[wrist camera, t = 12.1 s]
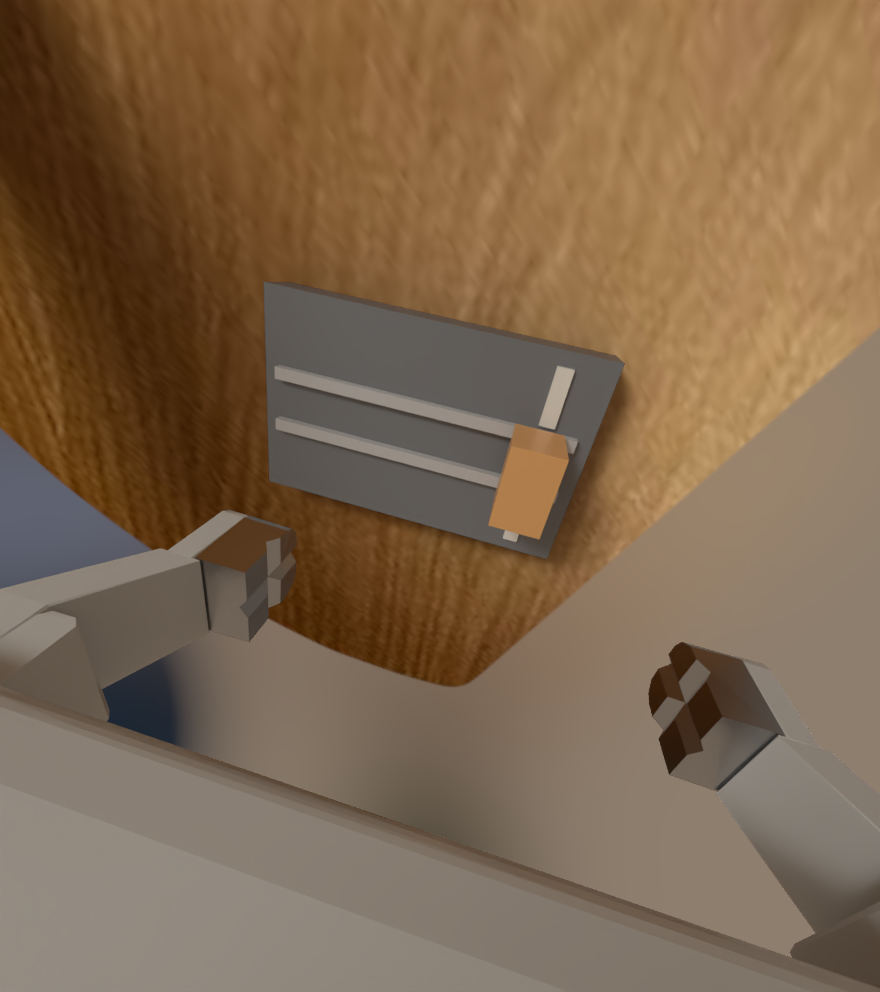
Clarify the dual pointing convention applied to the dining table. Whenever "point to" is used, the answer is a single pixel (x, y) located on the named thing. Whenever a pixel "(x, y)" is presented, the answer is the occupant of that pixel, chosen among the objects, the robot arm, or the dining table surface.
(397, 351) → the fader console
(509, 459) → the fader tab
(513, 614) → the dining table surface
